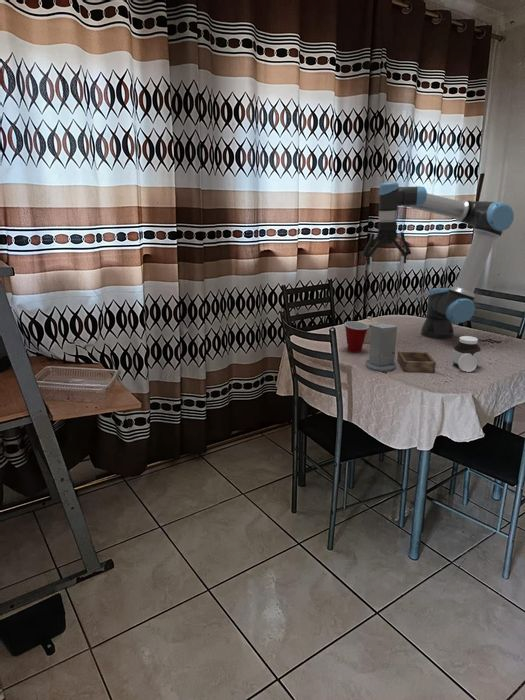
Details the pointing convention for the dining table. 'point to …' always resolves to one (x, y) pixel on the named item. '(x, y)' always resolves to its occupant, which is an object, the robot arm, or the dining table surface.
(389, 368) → the slate plate
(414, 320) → the dining table surface
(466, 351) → the spread jar
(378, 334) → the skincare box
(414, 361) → the walnut collar
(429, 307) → the robot arm
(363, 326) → the plastic cup
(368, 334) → the teacup with lid
